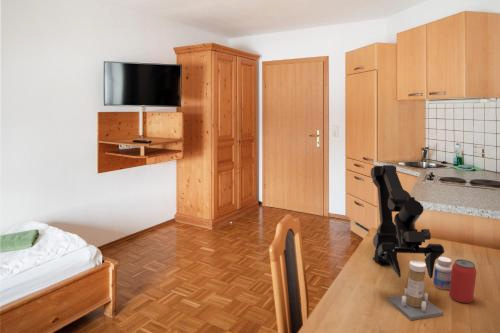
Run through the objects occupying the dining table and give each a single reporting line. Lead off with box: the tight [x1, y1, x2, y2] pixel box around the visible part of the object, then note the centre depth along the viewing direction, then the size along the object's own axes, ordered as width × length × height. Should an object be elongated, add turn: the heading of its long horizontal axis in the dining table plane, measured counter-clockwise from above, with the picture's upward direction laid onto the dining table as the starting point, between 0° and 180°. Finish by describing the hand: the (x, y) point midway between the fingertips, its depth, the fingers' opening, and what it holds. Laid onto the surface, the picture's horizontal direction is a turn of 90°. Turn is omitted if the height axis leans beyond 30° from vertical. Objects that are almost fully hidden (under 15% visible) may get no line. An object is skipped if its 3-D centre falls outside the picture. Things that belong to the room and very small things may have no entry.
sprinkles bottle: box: [406, 259, 427, 307], centre depth 108 cm, size 5×5×14 cm
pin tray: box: [387, 287, 444, 321], centre depth 109 cm, size 11×11×4 cm
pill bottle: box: [433, 256, 453, 290], centre depth 121 cm, size 6×5×10 cm
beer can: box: [448, 258, 477, 304], centre depth 113 cm, size 7×7×12 cm
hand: (415, 277), depth 108 cm, fingers open, 9 cm apart
